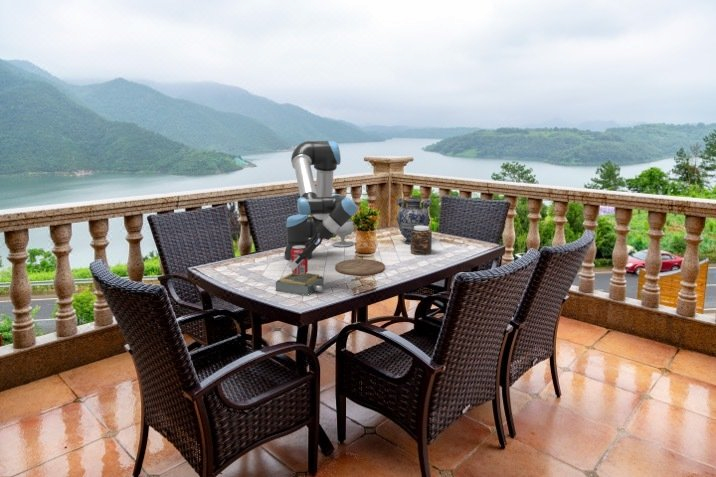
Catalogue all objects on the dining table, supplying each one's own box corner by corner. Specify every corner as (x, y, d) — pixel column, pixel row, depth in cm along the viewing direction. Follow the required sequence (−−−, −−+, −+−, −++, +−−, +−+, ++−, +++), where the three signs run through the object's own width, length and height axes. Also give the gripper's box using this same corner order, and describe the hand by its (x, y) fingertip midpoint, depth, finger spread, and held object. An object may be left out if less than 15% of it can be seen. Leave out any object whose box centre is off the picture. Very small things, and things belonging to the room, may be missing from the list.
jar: (430, 250, 274) (431, 224, 271) (431, 255, 263) (432, 229, 259) (410, 250, 275) (410, 224, 272) (410, 255, 264) (411, 228, 261)
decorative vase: (392, 244, 287) (393, 198, 282) (398, 238, 305) (400, 195, 299) (427, 247, 281) (429, 200, 276) (432, 241, 299) (434, 196, 293)
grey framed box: (275, 290, 205) (275, 279, 204) (293, 281, 218) (293, 270, 217) (316, 296, 197) (315, 285, 196) (331, 287, 210) (331, 275, 208)
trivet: (393, 266, 243) (393, 263, 242) (369, 279, 222) (369, 275, 221) (351, 260, 255) (351, 256, 255) (325, 271, 234) (325, 268, 234)
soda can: (300, 270, 212) (299, 244, 209) (311, 273, 207) (310, 246, 205) (288, 273, 206) (287, 247, 204) (299, 276, 202) (298, 249, 199)
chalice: (332, 242, 295) (331, 218, 292) (354, 242, 295) (354, 218, 292) (330, 247, 282) (329, 222, 278) (353, 247, 281) (353, 222, 278)
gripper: (335, 238, 195) (296, 278, 197) (333, 229, 214) (298, 265, 216) (322, 226, 193) (283, 266, 195) (321, 217, 212) (286, 254, 215)
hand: (291, 265), depth 206 cm, fingers closed on soda can, 7 cm apart
